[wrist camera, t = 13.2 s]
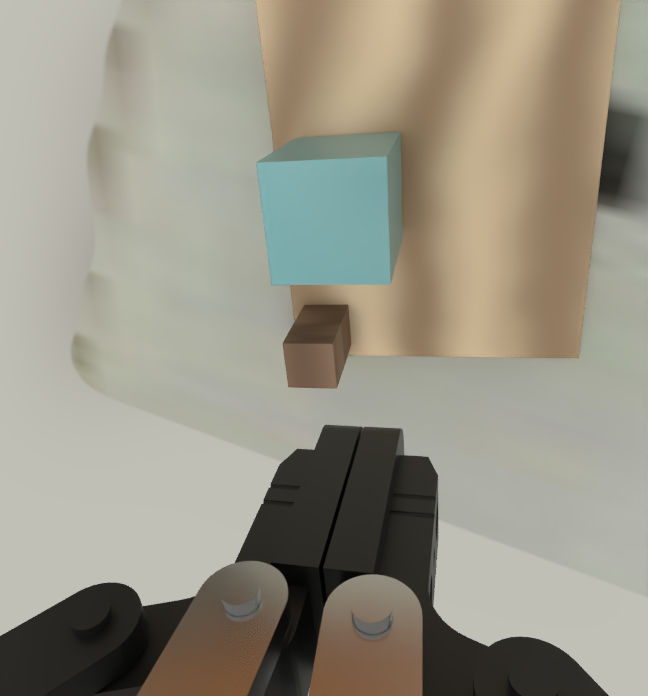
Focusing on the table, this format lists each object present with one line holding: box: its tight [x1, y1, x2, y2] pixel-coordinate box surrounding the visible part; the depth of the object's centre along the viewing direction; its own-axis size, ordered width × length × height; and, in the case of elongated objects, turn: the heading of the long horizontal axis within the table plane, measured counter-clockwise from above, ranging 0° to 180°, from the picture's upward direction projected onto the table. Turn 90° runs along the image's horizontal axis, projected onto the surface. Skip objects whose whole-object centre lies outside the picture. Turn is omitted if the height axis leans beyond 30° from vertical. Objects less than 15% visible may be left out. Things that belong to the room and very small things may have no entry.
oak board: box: [256, 0, 621, 358], centre depth 29 cm, size 16×25×1 cm, turn 5°
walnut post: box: [283, 305, 351, 388], centre depth 33 cm, size 3×3×5 cm
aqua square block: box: [256, 132, 403, 285], centre depth 27 cm, size 5×5×7 cm
